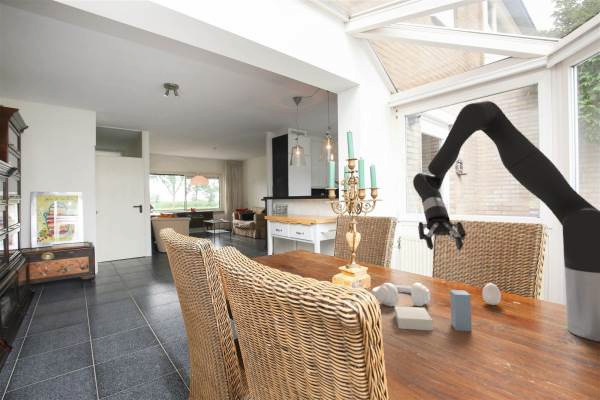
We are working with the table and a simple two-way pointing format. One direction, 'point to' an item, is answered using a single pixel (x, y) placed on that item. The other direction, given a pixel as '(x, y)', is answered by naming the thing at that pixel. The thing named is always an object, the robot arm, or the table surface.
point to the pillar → (460, 310)
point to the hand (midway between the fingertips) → (445, 248)
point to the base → (413, 318)
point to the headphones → (390, 292)
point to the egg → (491, 294)
